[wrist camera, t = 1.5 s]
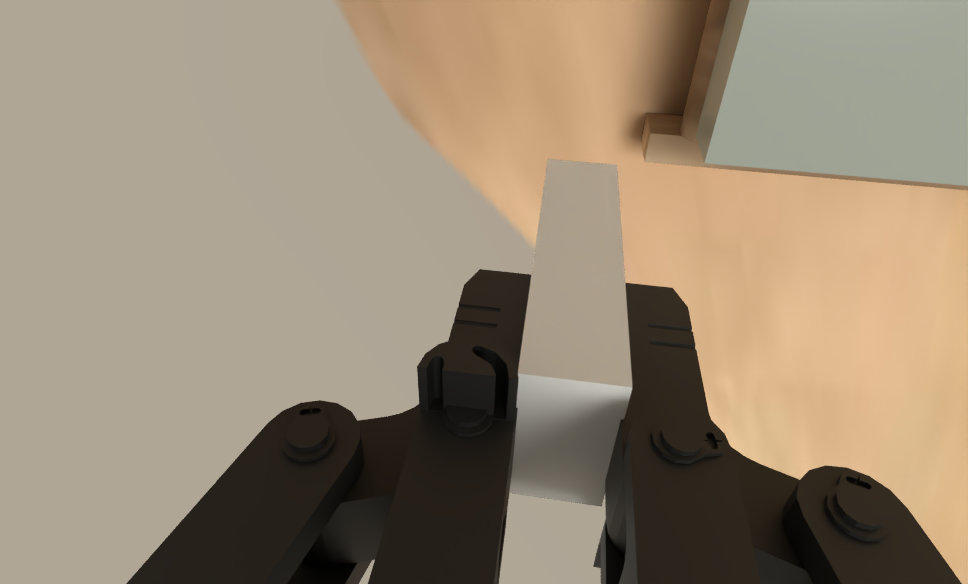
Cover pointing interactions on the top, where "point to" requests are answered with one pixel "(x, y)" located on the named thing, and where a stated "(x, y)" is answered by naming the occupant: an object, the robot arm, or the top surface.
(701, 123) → the stone slab
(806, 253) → the top surface
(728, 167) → the roller bed
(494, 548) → the robot arm
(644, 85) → the top surface
